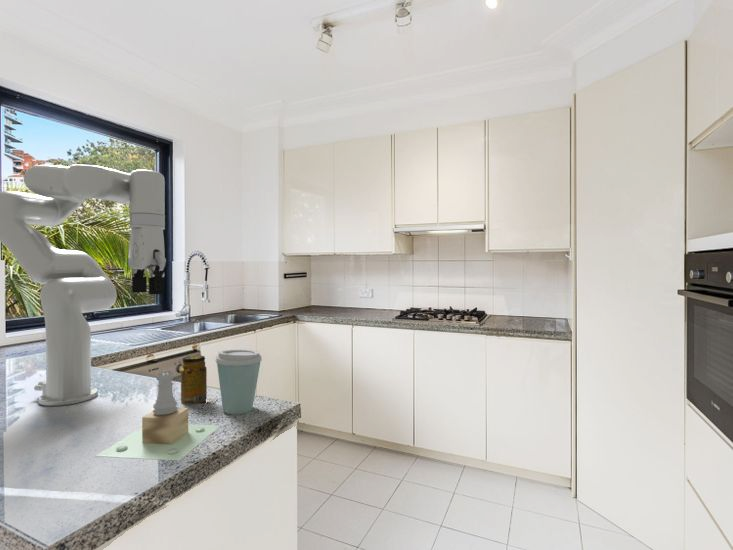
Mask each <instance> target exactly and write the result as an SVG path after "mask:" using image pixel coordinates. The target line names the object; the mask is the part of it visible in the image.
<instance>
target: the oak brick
mask: <svg viewBox="0 0 733 550" xmlns="http://www.w3.org/2000/svg"><path fill="white" fill-rule="evenodd" d="M176 407H177V406H176ZM177 408H178V409H177V410H176V411H175V413H173V414H169V415H164V416H159V415H155V414H154V413H153V410H152V411H151V412H149V413H147V414H146V415H144V416H142V418H141V419H142V420H141V424H142V426H141V427H142V443H152V444H173V443H175V442H176V441H177V440H178V439H180V438H181V437H182V436H184V435H185V434H186V433H188V424H189V407H179V406H178V407H177Z"/></svg>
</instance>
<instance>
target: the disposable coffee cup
mask: <svg viewBox="0 0 733 550" xmlns="http://www.w3.org/2000/svg"><path fill="white" fill-rule="evenodd" d="M262 358H263V357H262V355H261V354H260V352H258V351H257V350H252V349H226V350H225V349H224V350H219V351H218V354H217V355H216V356H215V363H216V367H217V374H218V383H219V391H220V397H221V406H222V407H221V408H222V411H223V413H225V414H227V415H242V414H245V413H248V412H251V411H252V410H253V407H254V402H255V396H256V391H257V384H258V379H259V373H260V366H261V362H262V361H263V359H262Z"/></svg>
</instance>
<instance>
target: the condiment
mask: <svg viewBox="0 0 733 550" xmlns="http://www.w3.org/2000/svg"><path fill="white" fill-rule="evenodd" d="M205 359H206V357H205V356H203V355H200V354H198V355H197V354H196V355H195V354H194V355H187V356H184V357H183V359H182V367H181V369H180V402H181V403H180V404H183V405H190V406H191V405H200V404H202V405H203V404H204V405H214V404H215V403H216V402H217V401H218V400H219V398H218V397H217V398H214V397H213V398H212V397H211V398H207V396H208V395H207V388H208V386H207V380H208V379H207V373H208V371H207V370H208V369H207V366H206V361H205ZM206 399H207V400H209V401H210V400H211V401H210V402H207V404H205V403H206ZM216 400H217V401H216ZM208 403H209V404H208ZM213 403H214V404H213Z"/></svg>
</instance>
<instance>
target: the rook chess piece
mask: <svg viewBox="0 0 733 550" xmlns="http://www.w3.org/2000/svg"><path fill="white" fill-rule="evenodd" d="M157 374H158V375H157V377H155V378H156V380H157V381H158V384H157V385H156V386H157V387H158V391H157V392H158V393H157V398H156V400H155V402H154V404H153V405H152V407H153V410H152V411H153V413H154V414H155V415H159V416H164V415H169V414H173V413H175V411H176V410H177V409H178V408H177V405H178V403H177V400H175V397H174V393H173V385H174V383H173V379H174V378H175V375H174V374H173V371H171V370H163V371H158V373H157Z"/></svg>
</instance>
